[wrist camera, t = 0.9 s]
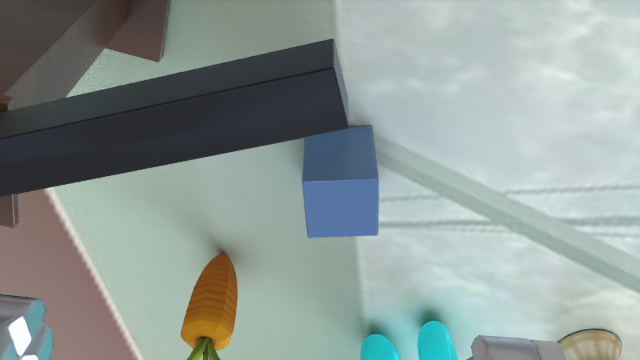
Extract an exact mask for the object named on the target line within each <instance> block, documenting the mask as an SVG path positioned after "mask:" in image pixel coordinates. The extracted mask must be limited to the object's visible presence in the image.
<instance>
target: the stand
mask: <svg viewBox="0 0 640 360" xmlns="http://www.w3.org/2000/svg"><path fill="white" fill-rule="evenodd" d="M169 6H170V0H0V112H4V111H9V110H13V109H18V108H22V107H27V106H31V105H36V104H40V103H45V102H49V101H54V100H58V99H63V98H65V97H66V96H67V95H68V94H69V92H70V91H71V90H72V89H73V87H74V86H75V85H76V84H77V82H78V81H79V80H80V79H81V77H82V76H83V75H84V74H85V72H86V71H87V70H88V69H89V67H90V66H91V65H92V64H93V62H94V61H95V60H96V59H97V57H98V56H99V55H100V54H101V52H102V51H103V50H104V49H105V48H107V49H111V50H115V51H118V52H122V53H126V54H130V55H133V56H137V57H141V58H144V59H148V60H152V61H156V62H160V60H161V59H162V57H163V51H164V44H165V36H166V29H167V21H168V14H169ZM18 222H19V219H18V197H17V194H14V195H9V196H4V197H0V225H2V226H7V227H12V228H14V227H15V226H16V225H17V223H18Z"/></svg>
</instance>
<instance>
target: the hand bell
mask: <svg viewBox="0 0 640 360" xmlns="http://www.w3.org/2000/svg"><path fill="white" fill-rule="evenodd" d="M558 344H559V345H560V346H561V347H562V350H563V352H564V354H565V357H566V359H567V360H617V359H618V357H619V356H620V354H621V350H622V343H621V340H620V339H619V338H618V337H617V336H616V335H615V334H613V333H610V332H607V331H603V330H586V331H581V332H577V333H574V334H572V335H569V336H567V337H565V338H563V339H562V340H561V341H559V342H558Z"/></svg>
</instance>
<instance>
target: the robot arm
mask: <svg viewBox="0 0 640 360" xmlns="http://www.w3.org/2000/svg"><path fill="white" fill-rule="evenodd" d="M45 313H46V307H45V304H44V302H43V299H38V298H28V297H20V296H11V295H2V294H0V360H50V358H51V354H52V349H53V332H52V328H51V326H50V325H49V324H47V323H46V322H45V321H44V320H42V319H43V317H44V315H45ZM471 349H472V354H473V356H472V357H470V358H469V359H467V360H567V359H566V357H565V354H564V352H563V350H562V347H561V346H560V345H559V344H558V343H557V342H552V341H540V340H528V339H523V338H509V337H495V336H481V335H479V336H478V337H476V338H475V339H474V341H473V343H472V346H471Z"/></svg>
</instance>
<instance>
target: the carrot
mask: <svg viewBox="0 0 640 360" xmlns="http://www.w3.org/2000/svg"><path fill="white" fill-rule="evenodd" d="M237 297H238V296H237V279H236V273H235V270H234V267H233V264H232V262H231V260H230V258H229V257H228V255H227V254H225V253H221V254H218V255H217V256H216V257H215V258H213V259H212V260H211V261H210V262H209V263H208V264H207V266H206V267H205V268H204V270H203V271H202V273H201V275H200V277H199V279H198V281H197V283H196V285H195V287H194V289H193V292H192V295H191V298H190V301H189V305H188V308H187V311H186V315H185V318H184V322H183V326H182V330H181V338H182V339H183V340H184V341H185V342H186V343H187V344H188V345H189V346H191V347H192V348H193V351H192V353H191V355H190V356H189V357H188V359H187V360H199V359H200V357H201V356H202V354H203V360H208V355H209V360H220V359H219V357H218V355H217V353H216V350H220V349H223V348H225V347H227V346H228V344H229V341H230V338H231V335H232V332H233V329H234V323H235V316H236V307H237Z"/></svg>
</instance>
